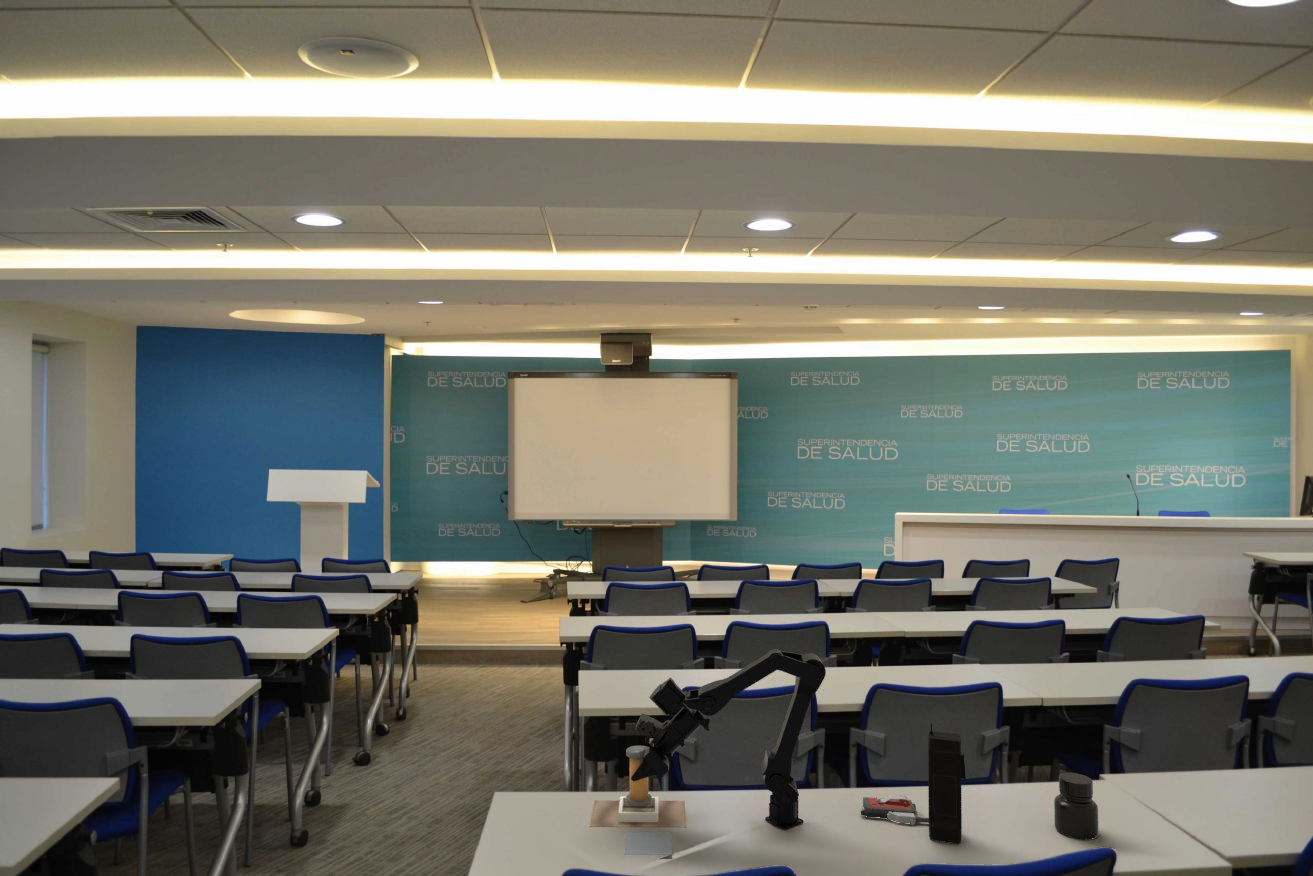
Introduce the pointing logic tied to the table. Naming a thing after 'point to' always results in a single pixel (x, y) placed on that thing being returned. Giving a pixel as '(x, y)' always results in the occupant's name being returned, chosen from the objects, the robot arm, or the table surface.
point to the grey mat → (649, 843)
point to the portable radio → (945, 786)
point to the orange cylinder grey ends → (639, 787)
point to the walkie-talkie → (892, 809)
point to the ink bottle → (1076, 807)
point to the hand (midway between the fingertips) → (633, 775)
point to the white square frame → (637, 815)
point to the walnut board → (667, 811)
